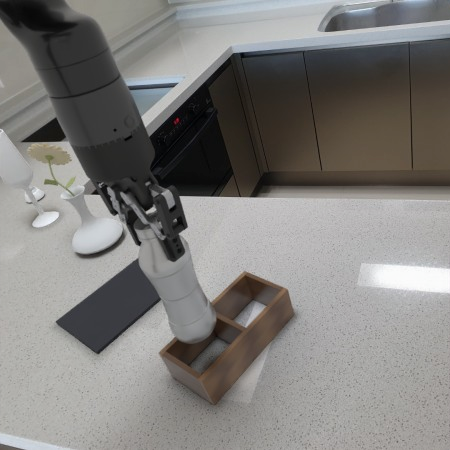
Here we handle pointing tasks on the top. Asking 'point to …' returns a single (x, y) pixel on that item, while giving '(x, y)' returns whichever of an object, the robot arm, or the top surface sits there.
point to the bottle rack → (231, 336)
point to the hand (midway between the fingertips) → (161, 249)
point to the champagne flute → (20, 177)
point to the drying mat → (111, 308)
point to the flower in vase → (79, 205)
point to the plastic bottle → (176, 287)
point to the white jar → (36, 192)
